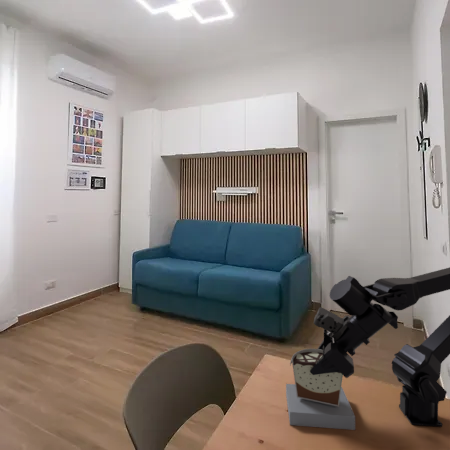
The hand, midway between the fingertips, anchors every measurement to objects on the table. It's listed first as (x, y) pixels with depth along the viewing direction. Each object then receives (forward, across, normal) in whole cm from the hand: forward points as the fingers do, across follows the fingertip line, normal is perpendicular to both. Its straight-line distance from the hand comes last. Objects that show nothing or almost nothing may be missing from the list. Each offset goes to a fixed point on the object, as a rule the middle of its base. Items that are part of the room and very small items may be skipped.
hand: (312, 365), depth 71 cm
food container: (+4, -1, +6) cm, 7 cm away
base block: (+7, 0, +8) cm, 11 cm away
